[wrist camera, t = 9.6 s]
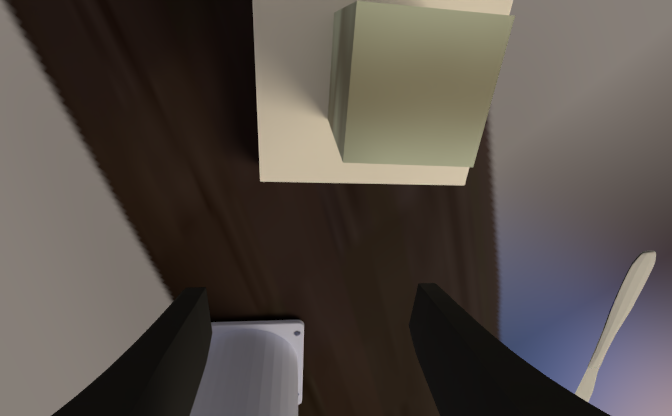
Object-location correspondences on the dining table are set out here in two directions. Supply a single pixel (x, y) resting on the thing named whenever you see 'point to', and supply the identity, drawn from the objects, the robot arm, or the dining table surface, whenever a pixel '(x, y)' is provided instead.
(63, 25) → the dining table surface
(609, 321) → the butter knife
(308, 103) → the base block
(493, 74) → the stacking block
